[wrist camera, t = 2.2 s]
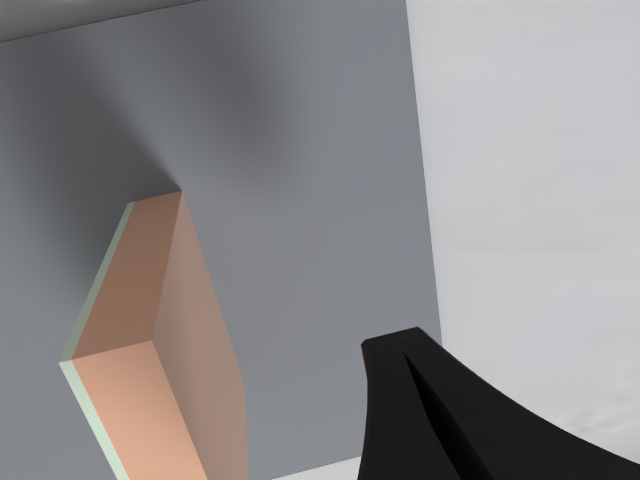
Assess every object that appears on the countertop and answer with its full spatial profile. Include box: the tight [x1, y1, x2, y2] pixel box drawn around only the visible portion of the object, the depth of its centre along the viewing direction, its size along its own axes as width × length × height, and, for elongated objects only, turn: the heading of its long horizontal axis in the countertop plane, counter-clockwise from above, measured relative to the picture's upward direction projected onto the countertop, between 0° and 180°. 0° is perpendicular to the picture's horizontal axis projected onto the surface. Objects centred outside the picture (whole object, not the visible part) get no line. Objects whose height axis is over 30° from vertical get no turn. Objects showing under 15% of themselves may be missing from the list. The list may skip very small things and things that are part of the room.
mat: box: [0, 0, 442, 480], centre depth 17 cm, size 18×16×1 cm
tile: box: [59, 191, 249, 480], centre depth 14 cm, size 2×7×7 cm, turn 11°
